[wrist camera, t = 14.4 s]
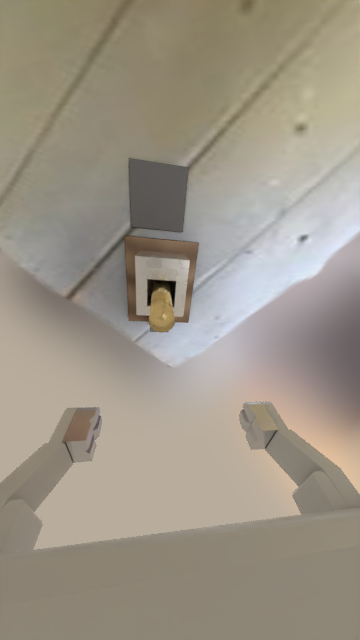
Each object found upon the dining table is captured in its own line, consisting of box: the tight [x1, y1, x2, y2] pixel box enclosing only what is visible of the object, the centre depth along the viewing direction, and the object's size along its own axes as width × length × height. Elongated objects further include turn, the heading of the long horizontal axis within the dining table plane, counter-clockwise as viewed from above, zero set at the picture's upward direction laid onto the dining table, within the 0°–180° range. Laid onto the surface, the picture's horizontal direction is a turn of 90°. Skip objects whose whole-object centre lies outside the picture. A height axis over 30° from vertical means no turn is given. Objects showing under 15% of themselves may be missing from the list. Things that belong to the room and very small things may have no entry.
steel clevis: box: [135, 250, 190, 332], centre depth 32 cm, size 14×8×7 cm, turn 175°
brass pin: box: [149, 280, 175, 332], centre depth 27 cm, size 3×3×16 cm
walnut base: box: [125, 236, 199, 323], centre depth 35 cm, size 16×13×2 cm
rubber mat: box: [129, 158, 188, 232], centre depth 29 cm, size 9×9×1 cm
